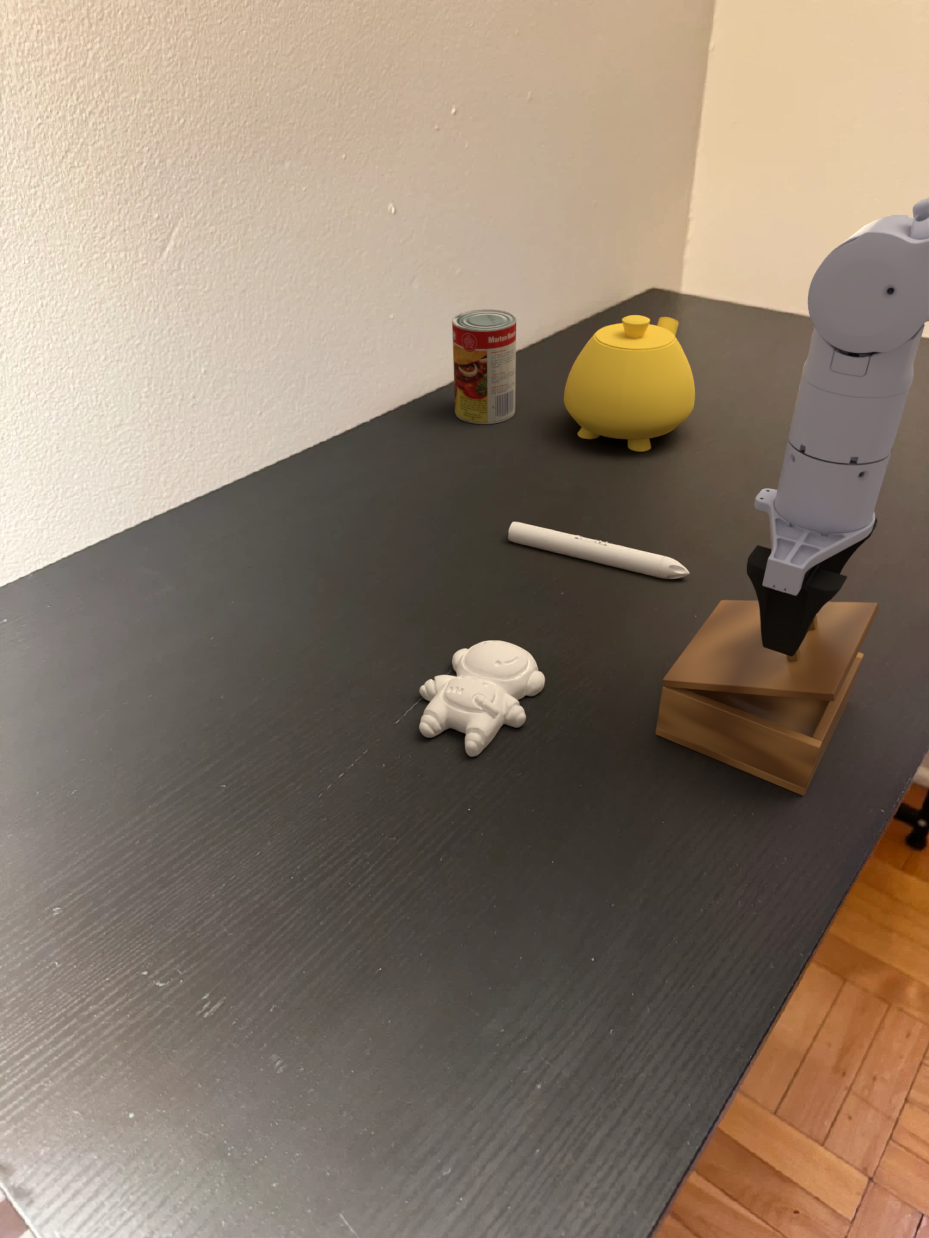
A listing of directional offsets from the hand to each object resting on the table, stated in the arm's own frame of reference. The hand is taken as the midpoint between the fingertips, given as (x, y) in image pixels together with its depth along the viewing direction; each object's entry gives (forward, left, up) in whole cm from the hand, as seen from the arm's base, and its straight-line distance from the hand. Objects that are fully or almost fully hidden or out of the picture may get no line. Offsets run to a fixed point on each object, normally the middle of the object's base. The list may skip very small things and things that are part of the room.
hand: (792, 627), depth 58 cm
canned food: (+61, -10, -9) cm, 63 cm away
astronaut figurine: (+13, +18, -9) cm, 24 cm away
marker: (+25, -2, -10) cm, 27 cm away
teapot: (+48, -24, -9) cm, 55 cm away
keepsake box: (+1, +1, -9) cm, 9 cm away
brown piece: (+1, 0, -2) cm, 2 cm away
